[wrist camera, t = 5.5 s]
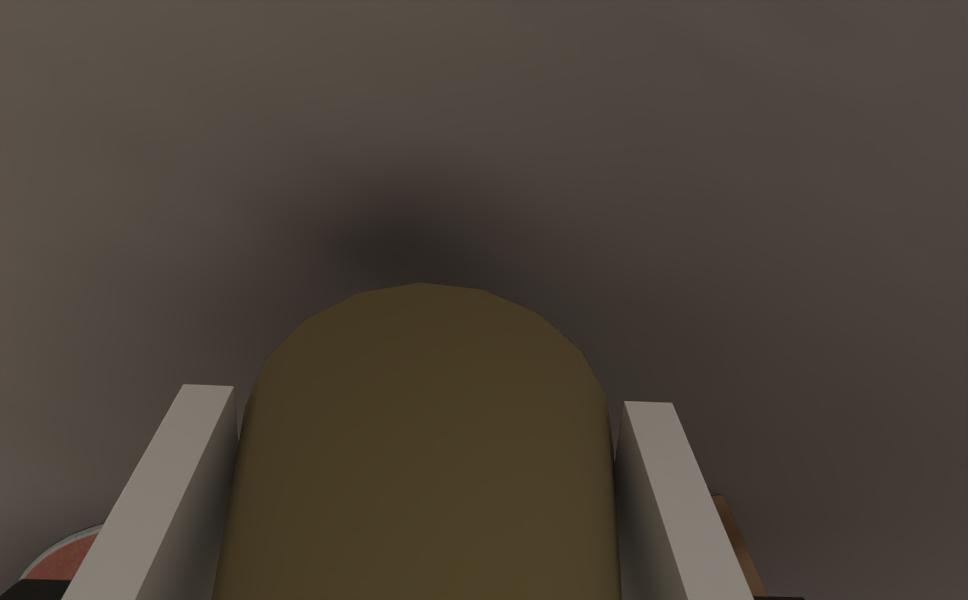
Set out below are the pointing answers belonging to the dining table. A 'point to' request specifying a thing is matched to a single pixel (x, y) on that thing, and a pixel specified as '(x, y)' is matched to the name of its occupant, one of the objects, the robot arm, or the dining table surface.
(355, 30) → the dining table surface
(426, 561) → the cork
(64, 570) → the canned food
